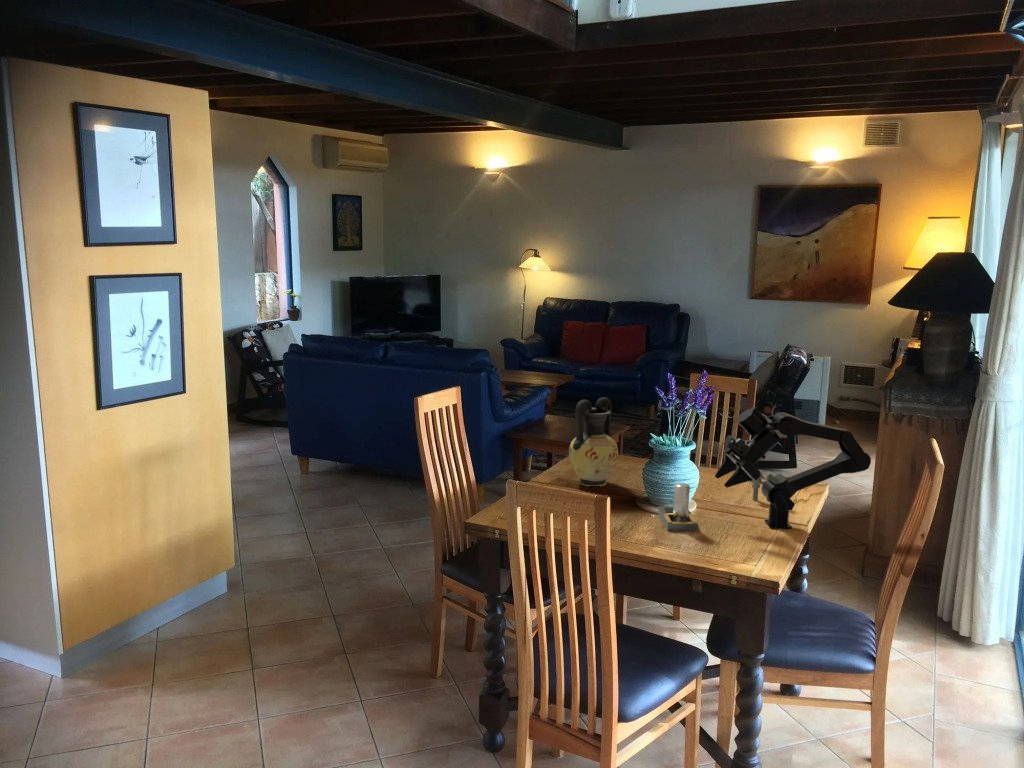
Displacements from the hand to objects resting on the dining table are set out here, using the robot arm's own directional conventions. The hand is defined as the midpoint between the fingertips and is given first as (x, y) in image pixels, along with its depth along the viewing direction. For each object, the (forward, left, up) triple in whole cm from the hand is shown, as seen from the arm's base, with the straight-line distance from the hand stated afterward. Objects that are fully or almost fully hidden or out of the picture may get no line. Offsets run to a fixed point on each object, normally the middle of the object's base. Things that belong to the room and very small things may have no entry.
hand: (720, 481), depth 249 cm
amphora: (+41, +34, -14) cm, 55 cm away
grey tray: (+3, +12, -14) cm, 18 cm away
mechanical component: (+25, -18, -14) cm, 34 cm away
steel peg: (-1, +11, -14) cm, 18 cm away
